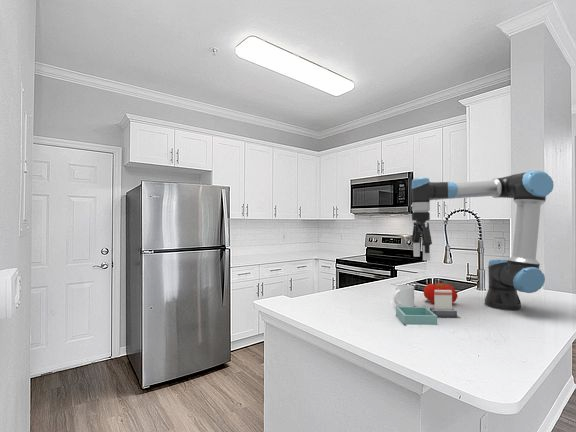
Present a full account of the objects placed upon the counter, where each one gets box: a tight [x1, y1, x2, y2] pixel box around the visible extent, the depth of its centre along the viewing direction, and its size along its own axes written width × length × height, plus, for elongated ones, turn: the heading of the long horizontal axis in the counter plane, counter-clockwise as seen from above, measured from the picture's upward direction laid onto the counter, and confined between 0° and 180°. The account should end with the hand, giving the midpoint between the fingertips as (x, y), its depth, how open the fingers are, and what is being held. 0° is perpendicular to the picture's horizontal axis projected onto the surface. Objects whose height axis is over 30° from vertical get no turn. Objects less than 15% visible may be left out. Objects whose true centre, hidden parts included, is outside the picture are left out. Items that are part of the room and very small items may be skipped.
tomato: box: [423, 282, 458, 304], centre depth 164 cm, size 14×16×10 cm
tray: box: [395, 306, 438, 326], centre depth 137 cm, size 13×13×4 cm
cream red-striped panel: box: [433, 290, 453, 310], centre depth 143 cm, size 7×1×11 cm, turn 86°
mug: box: [393, 283, 415, 307], centre depth 157 cm, size 12×8×10 cm
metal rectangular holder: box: [429, 307, 461, 319], centre depth 143 cm, size 12×8×3 cm, turn 86°
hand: (421, 258), depth 147 cm, fingers open, 13 cm apart
